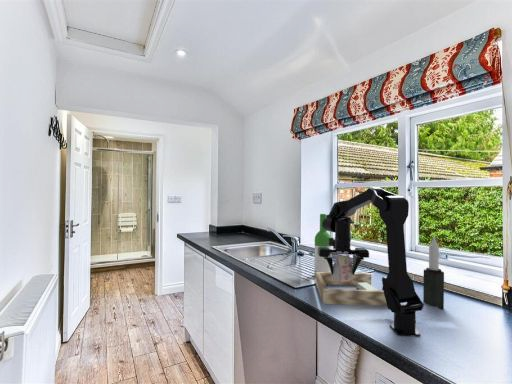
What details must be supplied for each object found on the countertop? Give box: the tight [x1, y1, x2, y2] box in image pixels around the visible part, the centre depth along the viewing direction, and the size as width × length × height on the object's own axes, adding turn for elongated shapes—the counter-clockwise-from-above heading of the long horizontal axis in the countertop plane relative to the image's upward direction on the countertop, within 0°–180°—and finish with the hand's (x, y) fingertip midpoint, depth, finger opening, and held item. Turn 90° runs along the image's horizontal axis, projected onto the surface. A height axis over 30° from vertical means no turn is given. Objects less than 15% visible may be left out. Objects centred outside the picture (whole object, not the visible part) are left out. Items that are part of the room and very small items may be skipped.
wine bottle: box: [313, 213, 332, 276], centre depth 137 cm, size 8×8×30 cm
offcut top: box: [356, 282, 378, 290], centre depth 113 cm, size 4×14×2 cm, turn 5°
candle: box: [422, 236, 445, 310], centre depth 104 cm, size 5×5×25 cm
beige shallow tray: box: [314, 271, 387, 307], centre depth 114 cm, size 23×22×6 cm
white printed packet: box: [333, 255, 353, 284], centre depth 114 cm, size 4×7×10 cm, turn 119°
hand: (342, 274), depth 114 cm, fingers closed on white printed packet, 8 cm apart
